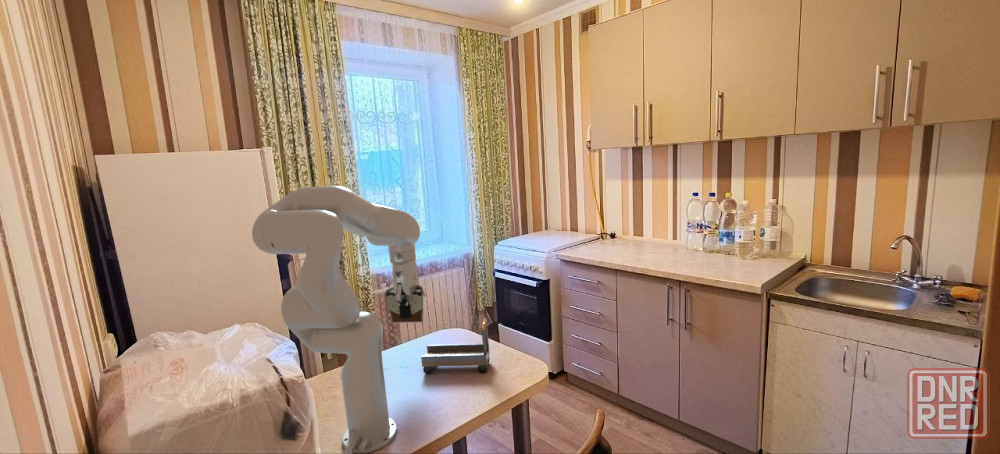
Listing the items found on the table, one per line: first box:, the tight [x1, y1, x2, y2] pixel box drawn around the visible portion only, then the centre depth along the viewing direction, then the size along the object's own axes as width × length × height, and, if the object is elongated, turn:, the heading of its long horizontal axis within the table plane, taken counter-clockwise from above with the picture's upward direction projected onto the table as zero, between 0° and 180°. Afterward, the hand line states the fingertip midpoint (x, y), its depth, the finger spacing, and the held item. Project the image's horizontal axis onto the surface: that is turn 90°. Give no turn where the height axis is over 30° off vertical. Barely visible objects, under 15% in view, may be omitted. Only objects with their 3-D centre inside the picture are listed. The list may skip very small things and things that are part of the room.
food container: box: [383, 284, 426, 324], centre depth 129 cm, size 12×6×10 cm, turn 83°
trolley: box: [420, 317, 491, 375], centre depth 132 cm, size 8×20×15 cm, turn 86°
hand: (408, 313), depth 129 cm, fingers closed on food container, 5 cm apart
